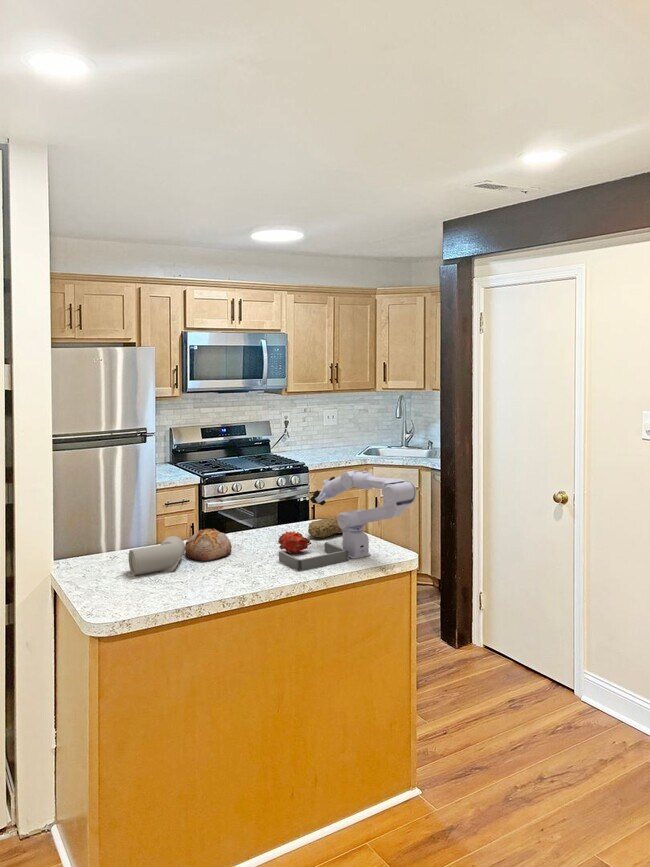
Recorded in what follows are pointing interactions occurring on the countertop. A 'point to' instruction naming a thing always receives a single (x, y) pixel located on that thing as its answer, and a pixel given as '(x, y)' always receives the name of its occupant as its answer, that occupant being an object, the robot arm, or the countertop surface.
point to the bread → (208, 545)
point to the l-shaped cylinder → (157, 557)
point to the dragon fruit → (293, 542)
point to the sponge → (324, 527)
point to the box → (315, 558)
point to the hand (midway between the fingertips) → (318, 495)
